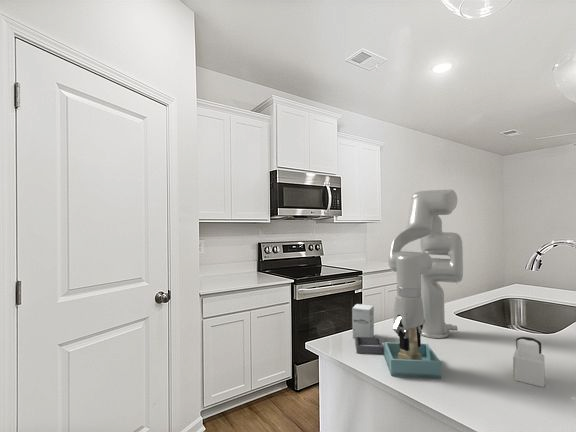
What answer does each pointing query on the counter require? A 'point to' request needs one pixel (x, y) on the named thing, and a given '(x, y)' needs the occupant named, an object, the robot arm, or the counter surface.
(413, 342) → the strut
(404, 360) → the bin
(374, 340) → the collar
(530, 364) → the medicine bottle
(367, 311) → the supplement box
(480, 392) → the counter surface
